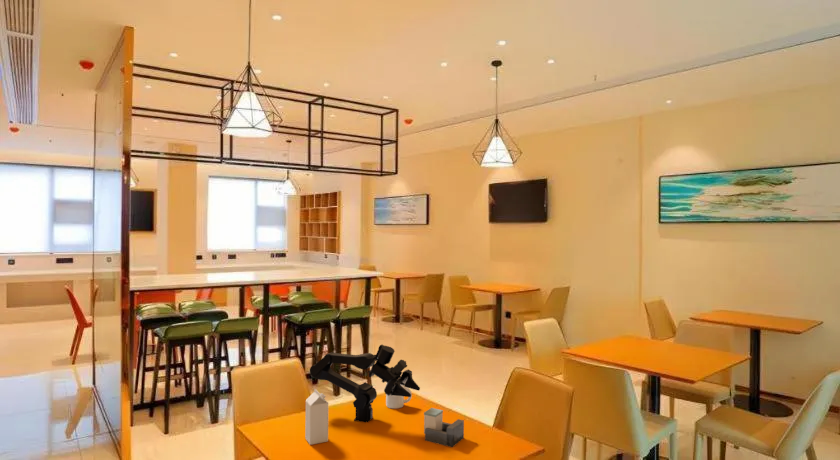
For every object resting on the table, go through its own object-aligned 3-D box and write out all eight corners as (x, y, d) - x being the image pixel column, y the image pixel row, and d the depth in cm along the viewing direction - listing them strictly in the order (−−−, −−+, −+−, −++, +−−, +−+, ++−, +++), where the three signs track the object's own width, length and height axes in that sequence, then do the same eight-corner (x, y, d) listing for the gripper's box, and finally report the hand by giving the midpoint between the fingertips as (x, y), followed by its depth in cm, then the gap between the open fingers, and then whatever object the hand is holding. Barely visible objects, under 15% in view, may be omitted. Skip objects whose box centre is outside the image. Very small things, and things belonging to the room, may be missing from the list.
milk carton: (309, 445, 189) (310, 395, 189) (305, 438, 196) (305, 389, 196) (328, 441, 193) (328, 392, 193) (322, 435, 199) (323, 387, 199)
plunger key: (423, 433, 197) (423, 412, 197) (431, 428, 203) (431, 407, 203) (435, 436, 195) (435, 415, 195) (442, 430, 200) (442, 410, 200)
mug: (412, 403, 237) (412, 381, 237) (410, 409, 228) (411, 387, 228) (387, 402, 238) (387, 380, 238) (384, 408, 229) (385, 386, 229)
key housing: (424, 440, 195) (425, 422, 195) (436, 431, 204) (437, 414, 204) (452, 447, 189) (452, 428, 189) (463, 438, 198) (463, 420, 198)
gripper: (381, 361, 202) (413, 382, 197) (401, 351, 220) (431, 370, 214) (371, 385, 204) (403, 406, 199) (391, 373, 221) (421, 392, 216)
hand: (415, 392), depth 207 cm, fingers open, 9 cm apart
